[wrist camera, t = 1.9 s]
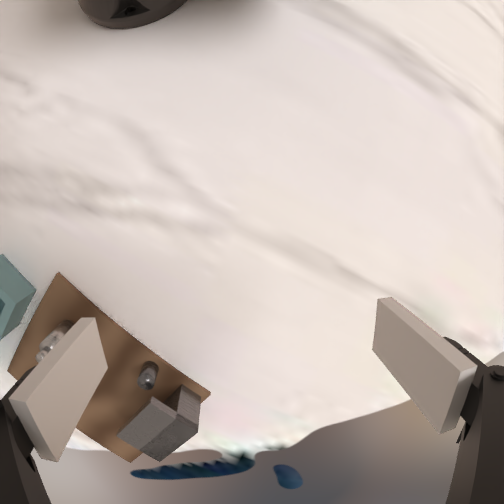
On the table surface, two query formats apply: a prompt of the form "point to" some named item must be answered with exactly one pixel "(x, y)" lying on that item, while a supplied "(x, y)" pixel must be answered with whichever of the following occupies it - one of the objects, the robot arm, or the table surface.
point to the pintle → (53, 338)
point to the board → (118, 361)
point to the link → (12, 296)
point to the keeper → (161, 418)
